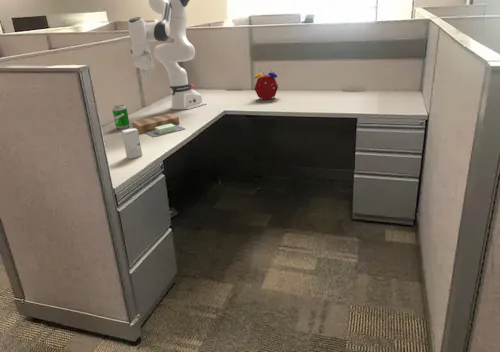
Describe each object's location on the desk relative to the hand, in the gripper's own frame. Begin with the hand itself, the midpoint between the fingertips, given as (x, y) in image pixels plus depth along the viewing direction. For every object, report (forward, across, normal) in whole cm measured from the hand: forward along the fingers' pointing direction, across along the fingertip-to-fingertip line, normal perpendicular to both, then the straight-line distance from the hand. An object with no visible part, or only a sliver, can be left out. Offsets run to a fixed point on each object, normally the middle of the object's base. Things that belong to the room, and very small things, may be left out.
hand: (146, 77), depth 224 cm
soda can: (+25, +5, +17) cm, 31 cm away
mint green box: (+24, -22, +3) cm, 32 cm away
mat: (+25, -21, +3) cm, 33 cm away
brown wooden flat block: (+25, -9, +3) cm, 27 cm away
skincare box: (+24, -46, +29) cm, 60 cm away
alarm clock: (+27, -8, -73) cm, 78 cm away
